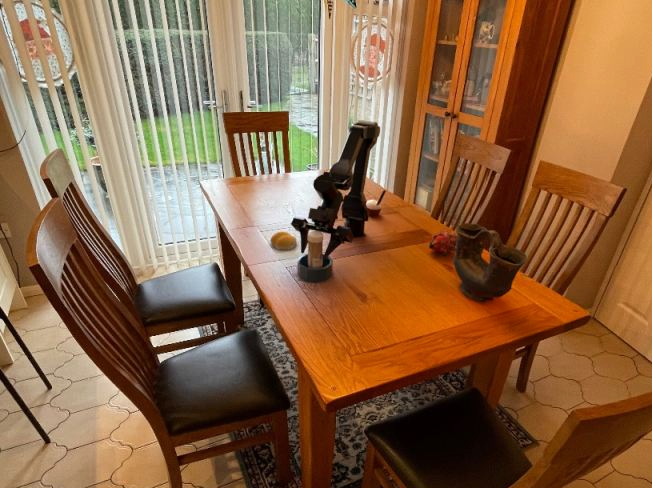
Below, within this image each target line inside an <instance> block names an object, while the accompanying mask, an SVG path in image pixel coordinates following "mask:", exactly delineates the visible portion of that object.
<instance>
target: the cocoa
mask: <svg viewBox="0 0 652 488" xmlns="http://www.w3.org/2000/svg"><path fill="white" fill-rule="evenodd" d="M386 192H387V190H386V189H385V190H382V192H381V194H380V196H379V198H378V200H376V199H370V200H366V201H367V202H366V206H367V208H368V211H369V217H372V218H373V217H374V218H375V217H377V216H379V215H380V213H381V211H382V207H383V206H382V205H381V202H382V200H383V199H384V196H385V194H386Z"/></svg>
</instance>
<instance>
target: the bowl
mask: <svg viewBox="0 0 652 488" xmlns="http://www.w3.org/2000/svg"><path fill="white" fill-rule="evenodd" d="M324 255H325V253H323V264H322V268H318V269H316V268H308V253H305V254H302V255H301V256H299V257H298V259H297V261H296V263H297V268H296V269H297V276H298V277H299V279H300V280H302V281H304V282H307V283H312V284H313V283H315V284H316V283H317V284H318V283H324V282H327V281H329V280H330V279H332V277H333V274H334V273H333V271H334V260H333V258H332V257H331V256H330V255H329V256H328V257H327V258H326V259H324Z"/></svg>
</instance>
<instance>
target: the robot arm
mask: <svg viewBox="0 0 652 488" xmlns="http://www.w3.org/2000/svg"><path fill="white" fill-rule="evenodd" d="M380 134H381V126H379V124H378V122H376V121H371V120H370V121H369V120H362V119H359V120H358V121H357V122H354V123H351V125H350V126H349V130H348V135H347V138H346V141H345V143H344V146H343V148H342V151H341V153H340V156H339V158H338V160H337V161H336V162H335V163H333V164H332V165H331V166H330V168H329V170H328V171H326V170H324V171H323V172H322V173H323V174H320V175H318V176H316V178H315V179H314V180H313V182H312V186H313V189H314V190H315V192H316V193H317V195H318V197H319V198H320V200H321V203H320V205H317V207H316V208H315V207H309V210H308V216H307V219H306V218H305V217H301V216H296V215H295V216H294V217H292V219H291V221H290V226H292V227H293V228H294V230H295V231H297V232H299V235H300V253H301V254H304V253H305V251H306V249H307V248H308V233H309V232H310V231H319V232H321V233H323V234H328V235H330V237H329V242H328V244H327V247H326V249H325V252H324V254H325V255H324V259H326V258H327V257H328V256H329V257H330V256H331V254H332V253H333V252H334V251H335V250H336V249H338V247H339V246H341V245H344V244H345V243H349V244H352V243H353V241H354V239H355V238H362V237H367V234H366V233H365V225H366V222H368V221H369V217H370V216H369V211H368V208H367V206H366V203H367V201H368V200H367V198H366V195H365V192H364V191H365V187H366V186H365V185H366V181H367V175H368V174H367V173H368V169H369V162H370V155H371V152H372V151H371V150H372V149H373V148H374V146H375V145H376V144H377V142H378V138H379V137H380ZM341 191H344V192H346V191H348V192H347V194H345V195H343V193H342V192H341ZM340 209H341V217H342V219H345V221H344V224H343V225H338V226H336V228H335V227H334V226H335V224H336V220H338V219H339V215H338V214H339V211H340ZM308 220H311V222H309V221H308Z"/></svg>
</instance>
